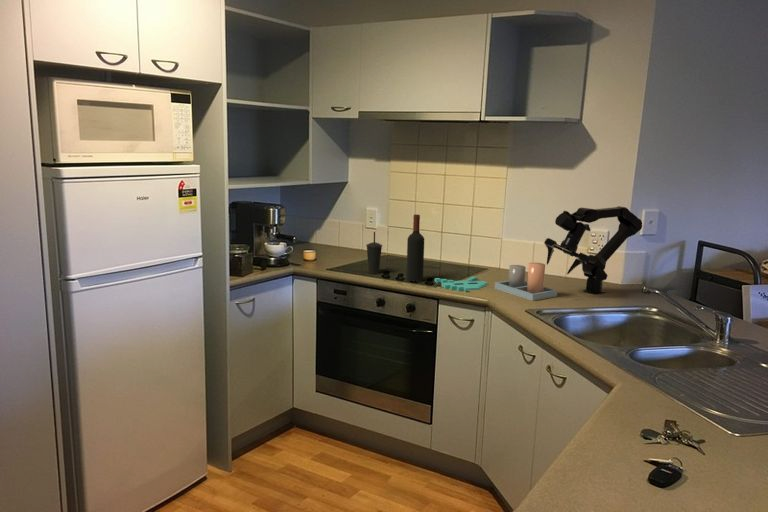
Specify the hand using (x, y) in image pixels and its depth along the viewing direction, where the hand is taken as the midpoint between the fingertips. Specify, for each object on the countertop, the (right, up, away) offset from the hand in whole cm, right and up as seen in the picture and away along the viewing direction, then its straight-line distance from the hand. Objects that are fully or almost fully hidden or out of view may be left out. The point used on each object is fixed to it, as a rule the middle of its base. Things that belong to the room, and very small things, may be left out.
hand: (557, 269), depth 247 cm
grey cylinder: (-16, -9, +6) cm, 19 cm away
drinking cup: (-77, -3, +36) cm, 85 cm away
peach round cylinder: (-10, -11, -2) cm, 15 cm away
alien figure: (-37, -9, +14) cm, 41 cm away
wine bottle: (-58, -6, +23) cm, 63 cm away
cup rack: (-13, -11, +2) cm, 17 cm away
